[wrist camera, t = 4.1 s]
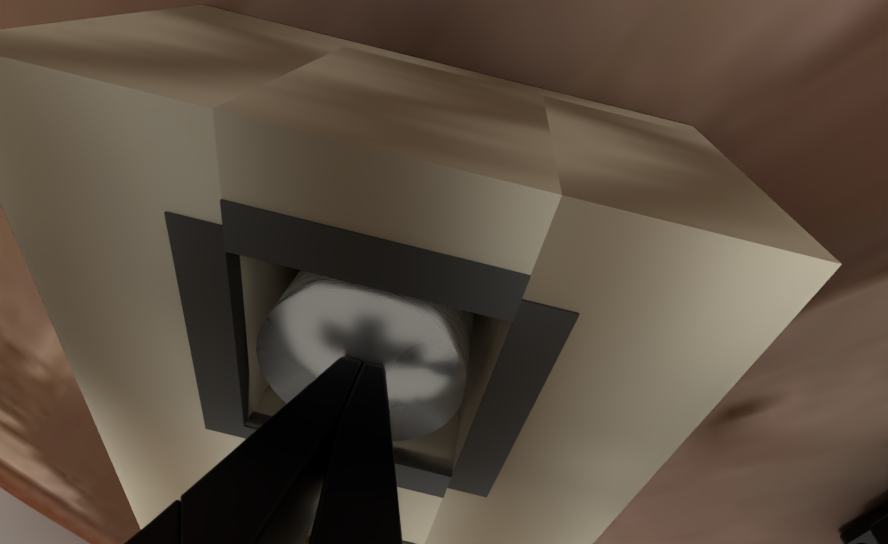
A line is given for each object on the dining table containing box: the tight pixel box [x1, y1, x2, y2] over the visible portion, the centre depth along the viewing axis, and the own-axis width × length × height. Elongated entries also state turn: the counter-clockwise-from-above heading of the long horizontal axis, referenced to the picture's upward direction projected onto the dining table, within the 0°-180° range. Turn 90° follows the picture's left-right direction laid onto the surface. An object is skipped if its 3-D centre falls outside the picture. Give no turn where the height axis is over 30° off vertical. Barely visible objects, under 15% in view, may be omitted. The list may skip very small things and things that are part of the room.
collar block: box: [0, 4, 842, 544], centre depth 13 cm, size 12×18×6 cm, turn 169°
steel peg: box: [256, 270, 474, 441], centre depth 10 cm, size 4×4×5 cm
